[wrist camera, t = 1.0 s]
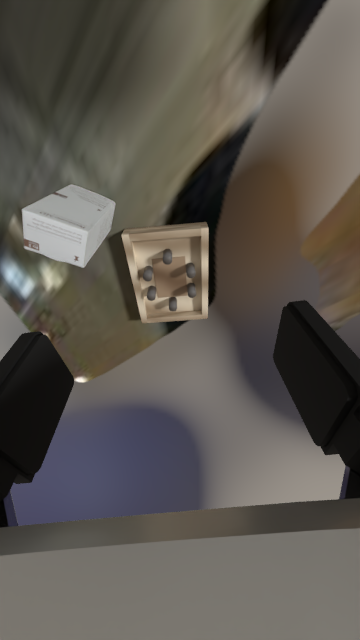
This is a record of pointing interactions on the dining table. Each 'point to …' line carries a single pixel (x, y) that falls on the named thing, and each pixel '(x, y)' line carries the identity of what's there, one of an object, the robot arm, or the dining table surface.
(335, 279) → the dining table surface
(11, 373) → the robot arm
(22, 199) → the dining table surface
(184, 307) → the pin tray
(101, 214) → the skincare box
